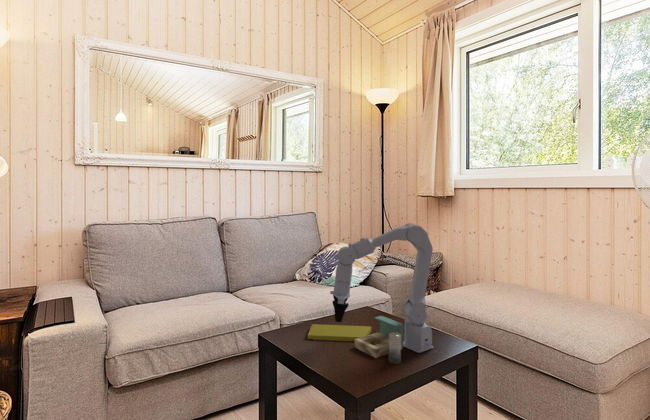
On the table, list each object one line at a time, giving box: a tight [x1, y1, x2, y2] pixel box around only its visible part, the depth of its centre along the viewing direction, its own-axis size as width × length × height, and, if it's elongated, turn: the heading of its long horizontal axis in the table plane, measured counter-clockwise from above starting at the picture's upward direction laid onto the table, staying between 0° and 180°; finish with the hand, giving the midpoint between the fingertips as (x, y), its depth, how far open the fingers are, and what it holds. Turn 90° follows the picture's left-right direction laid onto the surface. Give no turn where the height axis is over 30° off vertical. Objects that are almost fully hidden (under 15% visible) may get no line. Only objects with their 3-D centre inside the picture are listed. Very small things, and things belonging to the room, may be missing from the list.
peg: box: [388, 332, 402, 365], centre depth 131 cm, size 4×4×9 cm
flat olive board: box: [307, 323, 373, 342], centre depth 155 cm, size 12×2×24 cm
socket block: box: [354, 331, 404, 359], centre depth 142 cm, size 11×13×3 cm
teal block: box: [374, 315, 404, 342], centre depth 144 cm, size 11×4×6 cm, turn 35°
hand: (338, 318), depth 142 cm, fingers open, 7 cm apart
